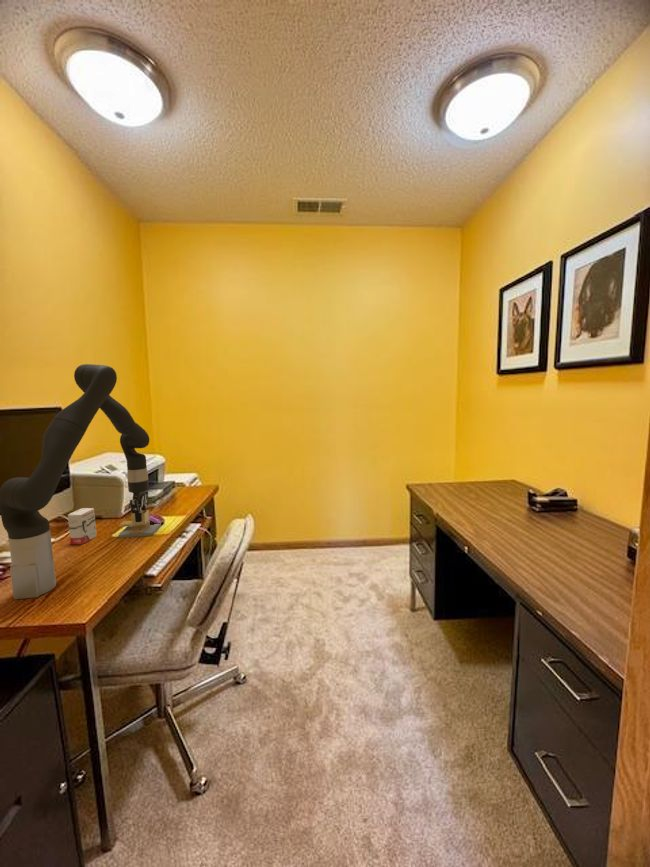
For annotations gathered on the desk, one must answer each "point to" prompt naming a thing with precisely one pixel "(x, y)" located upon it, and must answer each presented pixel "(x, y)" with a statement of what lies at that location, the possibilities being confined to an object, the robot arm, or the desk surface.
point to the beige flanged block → (133, 523)
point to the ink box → (82, 525)
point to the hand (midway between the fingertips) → (141, 519)
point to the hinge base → (140, 530)
